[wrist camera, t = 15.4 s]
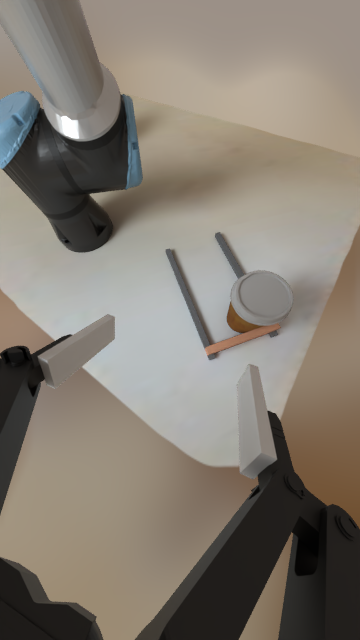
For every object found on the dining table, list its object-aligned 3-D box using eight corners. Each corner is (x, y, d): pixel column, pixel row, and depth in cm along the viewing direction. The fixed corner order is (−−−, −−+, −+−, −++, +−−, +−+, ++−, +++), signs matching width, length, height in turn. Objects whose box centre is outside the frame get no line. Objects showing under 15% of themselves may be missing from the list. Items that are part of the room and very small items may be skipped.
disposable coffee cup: (257, 298, 37) (286, 265, 26) (267, 338, 34) (305, 320, 23) (216, 301, 38) (228, 270, 26) (222, 341, 35) (238, 325, 23)
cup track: (166, 252, 43) (164, 244, 40) (219, 235, 44) (221, 225, 41) (209, 360, 34) (211, 359, 31) (275, 335, 34) (283, 332, 32)
